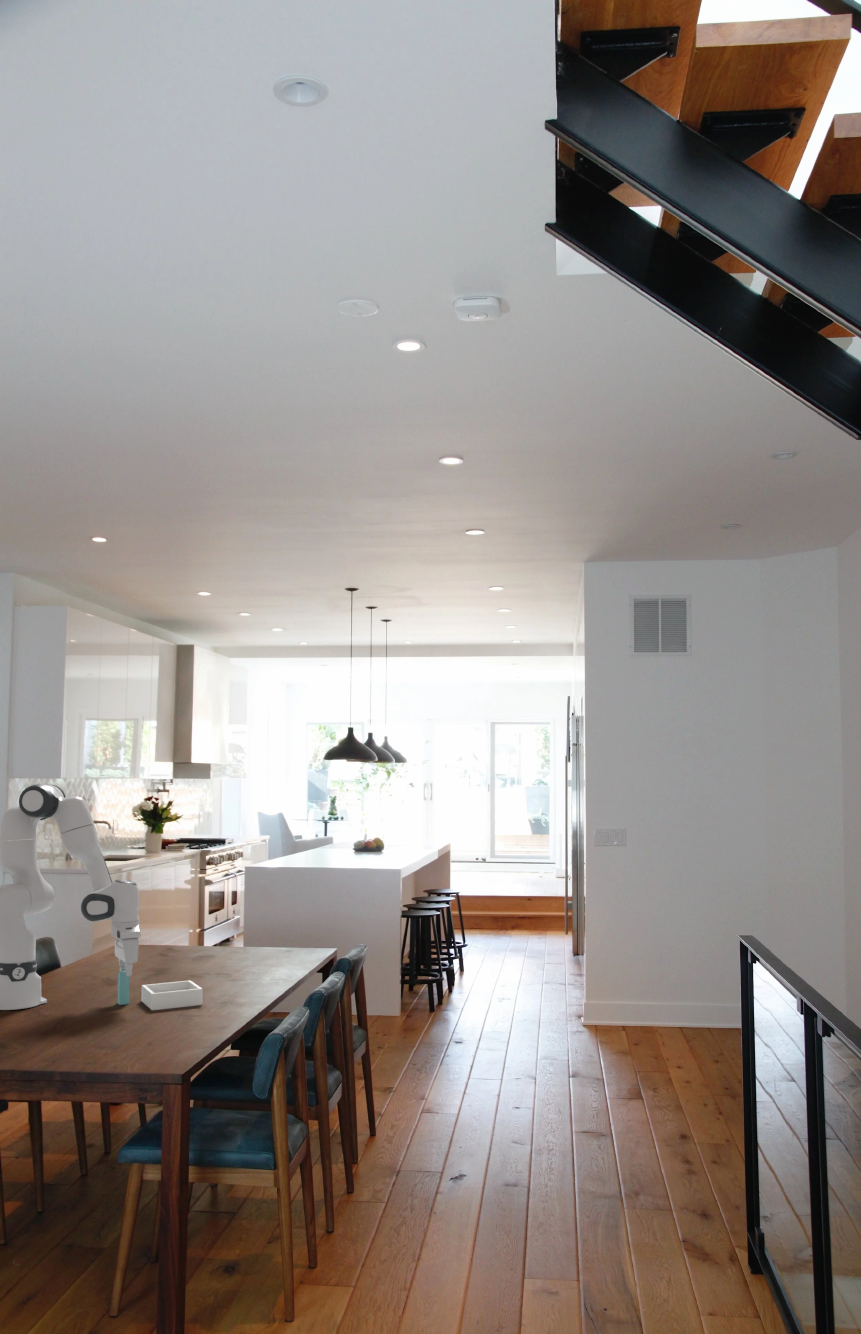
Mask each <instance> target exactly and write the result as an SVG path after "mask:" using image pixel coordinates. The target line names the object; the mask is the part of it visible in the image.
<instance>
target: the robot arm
mask: <svg viewBox="0 0 861 1334" xmlns="http://www.w3.org/2000/svg"><path fill="white" fill-rule="evenodd" d="M49 818H52V819H53V820H54V821H55V823H56V825H57V827H58V831H59V834H60V838H61V843H62V844H63V846H64V848H65V850H66V851H65V852H66V853H68V855H69V856H72V857H74V858H75V859H77V860H78V861H80V863H82V864H83V866H84V867H85V869H86V870H87V874H88V876H89V880H90V883H91V885H92V888H93V892H90V893H89V894H87V895H86V896H84V898H83V900H82V902H81V905H80V911H81V913H82V916H83V917H84V918H85V919H86V920H87V921H90V922H94V923H95V922H96V923H97V922H98V923H99V922H103V921H105V920H110V921H111V923H110V925H111V935H110V936H111V938H114V956H115V957H116V958H118V964H119V965H118V966H119V971H125V975H126V976H129V977H132V975H133V966H134V963H137V962H138V957H139V944H140V940H139V938H140V939H141V929H140V926H141V925H140V921H141V920H140V916H139V910H140V891H139V886H138V884H137V883H136V882H135V881H133V880H129V879H116V880H112V877H111V874H110V872H109V868H108V866H107V862H106V859H105V857H104V854H103V852H102V851H103V850H102V848H101V845H100V841H99V837H98V832H97V829H96V826H95V822H94V819H93V816H92V813H91V811H90V809H89V806H88V804H87V803H86V801H85V799H84V798H83V797H80V796H78V795H77V796H76V795H75V796H74V795H73V796H66V794H65V792H64V790H63V789H62V788H61V787H59V786H57V785H55V784H50V783H49V784H48V783H39V784H37V783H36V784H31V785H29V786H28V787H26V788H25V789H23V791H22V792H21V793H20V795H19V798H18V805H14V806H11V807H9V808H7V809H6V810H5V811H4V812H3V814H2V817H1V824H0V865H1V868H3V869H4V870H5V871H7V872H8V873H9V874H10V877H11V880H12V882H13V883H9V884H8V883H7V884H0V1011H11V1010H13V1011H14V1010H21V1009H23V1010H24V1009H28V1008H33V1007H36V1006H38V1005H42V1004H47V1003H48V999H47V998H45V997H43V996H42V977H41V976H40V975H39V974H38V973H37V972H36V971H38V970H37V968H38V967H37V966H38V963H37V962H38V961H37V959H36V948H37V947H36V946H37V943H36V941H37V938H36V937H37V936H36V934H35V933H34V931H33V930H30V929H28V927H27V925H26V922H25V917H28V916H35V915H39V914H41V913H44V912H47V910H50V909H51V908H52V906H53V904H54V903H55V897H56V895H55V890H54V888H53V886H52V885H51V884H50V883H48V882H47V880H46V879H44V877H43V875H42V873H41V870H40V867H39V865H38V864H39V863H38V855H37V853H38V851H37V825H38V823H39V821H43V820H46V819H49Z"/></svg>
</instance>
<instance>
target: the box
mask: <svg viewBox="0 0 861 1334" xmlns="http://www.w3.org/2000/svg"><path fill="white" fill-rule="evenodd" d="M203 993H204V991H203V988H202V987H201V986H199V985H198V984H196V983H195V982H194V981H193V980H182V981H181V980H179V981H170V982H159V983H151V984H141V996H140V997H141V998H140V999H141V1002H142V1003H143V1004H144V1005H145V1006H146V1007H148V1008H149V1010H150V1011H158V1010H159V1011H160V1010H168V1009H177V1008H185V1007H195V1006H202V1005H203V1002H204V1001H203Z"/></svg>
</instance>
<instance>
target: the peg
mask: <svg viewBox="0 0 861 1334" xmlns="http://www.w3.org/2000/svg"><path fill="white" fill-rule="evenodd" d="M117 1004H118V1005H119V1006H121V1005H123V1006H124V1005H129V1004H130V976H126V975H125V971H120V970H119V971H117Z"/></svg>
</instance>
